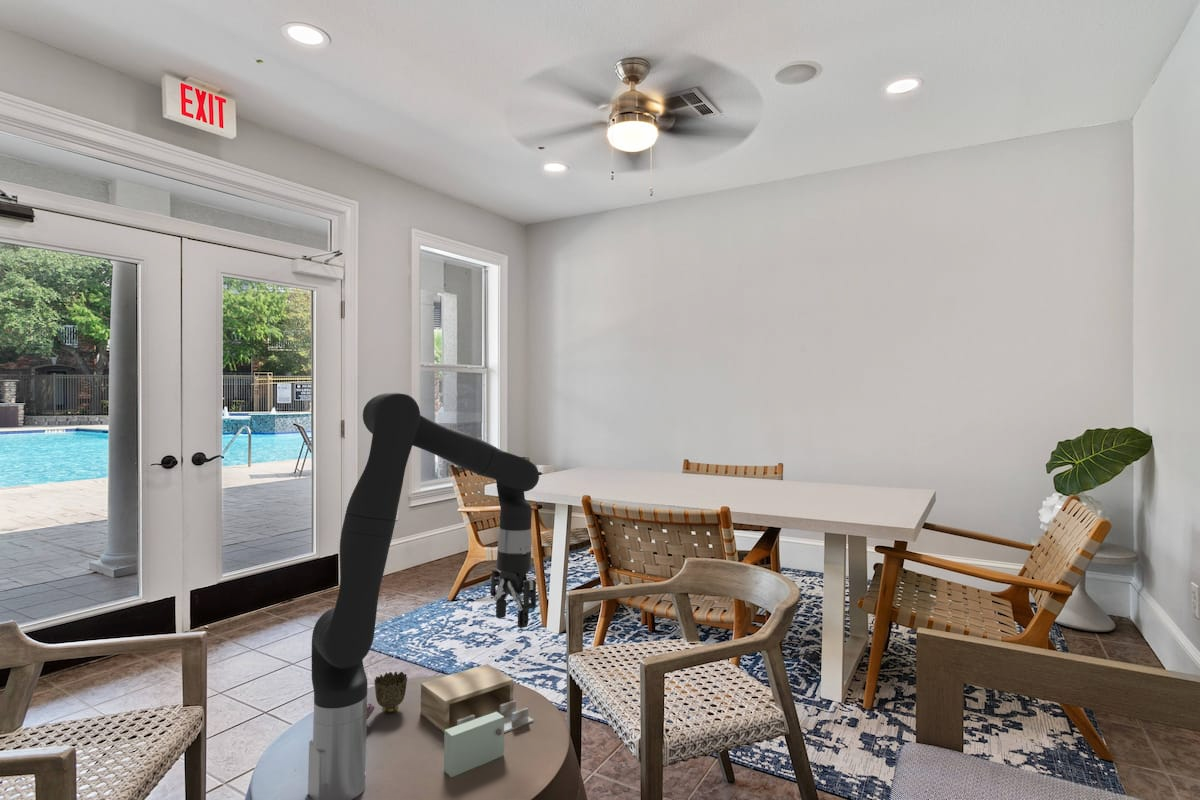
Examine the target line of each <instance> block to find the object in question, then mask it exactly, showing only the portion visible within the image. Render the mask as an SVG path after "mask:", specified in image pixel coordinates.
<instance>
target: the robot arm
mask: <svg viewBox="0 0 1200 800" xmlns="http://www.w3.org/2000/svg"><path fill="white" fill-rule="evenodd" d="M362 421H363V424H364V426H365V427H366V429H367V430H368V431H369V433H371V434H372V437H371V442H370V443H371V444H370V449H369V455H368V458H367V461H366V462H367V463H366V465H365V467H364V469H363V470H362V471H363V472H362V473H361V475H360V477H359V479H358V480H357V483H356V485H355V487H354V489H353V491H352V493H351V496H350V498H349V501H348V503H347V506H346V511H345V514H344V518H343V523H342V528H341V532H340V538H339V539H340V540H339V578H340V579H339V589H338V594H337V598H336V602H335V606H334V607H332V608H330V609H328V610H327V611H325V612H323V614H322V615H321V616H320V617H319V618H318V620H317V621H316V623H315V624H314V627H313V630H312V634H311V635H312V636H311V682H312V688H313V723H312V724H313V729H312V739H311V740H309V741H308V770H307V771H308V773H307V776H308V777H307V794H308V795H309V797H310V798H311V800H354V799H355V798H358V797H359V796H360V795H361V794H363V792H364V790H365V788H366V775H367V774H366V769H367V768H366V767H367V762H366V761H367V728H368V727H367V723H368V722H367V720H368V719H367V703H368V678H367V677H368V676H367V675H366V671H365V666H364V659H365V658H366V657H367V655H368V653H369V651H370V650H371V648H372V646H373V643H374V638H375V630H376V622H377V621H376V620H377V609H378V604H379V594H380V589H381V586H382V580H383V576H384V573H385V568H386V565H387V564H386V563H387V560H388V556H389V551H390V550H389V549H390V546H391V544H392V543H391V542H392V539H393V535H394V534H393V533H394V529H395V524H396V520H397V515H398V510H399V504H400V500H401V494H402V488H403V486H404V485H403V483H404V477H405V473H406V467H407V464H408V461H409V457H410V454H411V451H412V448H413V447H416V448H418V449H422V450H424V451H426V452H429V453H431V454H433V455H434V456H436V457H437V456H438V457H439V458H442V459H444V460H446V461H448V462H450V463H452V464H454V465H456V466H457V467H461V468H463V469H464V470H467V471H468V472H471V473H474V474H476V475H478V476H481V477H484V478H489V479H492V480H495V481H496V482H495V483H496V490H497V497H498V503H499V506H500V512H499V513H500V514H499V531H498V535H497V536H498V537H497V552H496V553H497V554H496V555H497V556H496V557H497V558H496V569H492V570H491V571H492V572H491V580H490V581H491V582H490V596H491V597H494V600H495V601H496V602H495V617H496V618H497V619H501V618H502V619H503V618H505V617H506V615H507V598H508V596H509V595H510V596H511V597H512V599H513V601H514V602H515V603H516V606H517V608H518V610H517V627H518V628H520V629H523V628H524V629H525V628H527V627H528V624H529V613H530V612H529V611H530V610H532V609H536V607H537V582H536V580H535V579H532V580H531V579H530V580H529V579H528V578H527V573H528V572H529V571H530V570H531V569H532V567H531V566H532V546H533V545H532V542H533V540H532V539H533V538H532V518H533V515H532V513H533V511H532V510H533V509H532V505H531V504H530V503H529V502H528V501H527V500H526V497H525V492H529V491H531V490H533V489H534V488H535V487H536V486H537V484H538V483H539V480H540V474H539V470H538V467H537V466H536V465H535V464H534V463H533V462H532V461H530V460H528V459H526V458H523V457H521V456H519V455H516V454H513V453H510V452H507V451H504V450H502V449H500V448H498V447H496V446H495V445H493V444H491V443H488V442H487V441H484V440H482V439H480V438H478V437H476V436H473V435H471V434H468V433H466V432H464V431H463V432H462V431H460V430H457V429H454V428H451V427H449V426H446V425H444V424H443V425H442V424H441V423H440V424H439V423H437V422H435V421H433V420H430V419H429V418H426V417H425V416H423V415H422V414H421V411H420V407H419V405H418V403H417V401H416V400H415V398H413V397H412V396H411V395H409V394H407V393H403V392H387V393H381V394H378V395H376V396H373V397H372V398H371V399H370V400H369V401H367V403H366V404H365V406H364V408H363V411H362ZM496 587H497V589H496ZM522 601H523V602H522Z"/></svg>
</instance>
